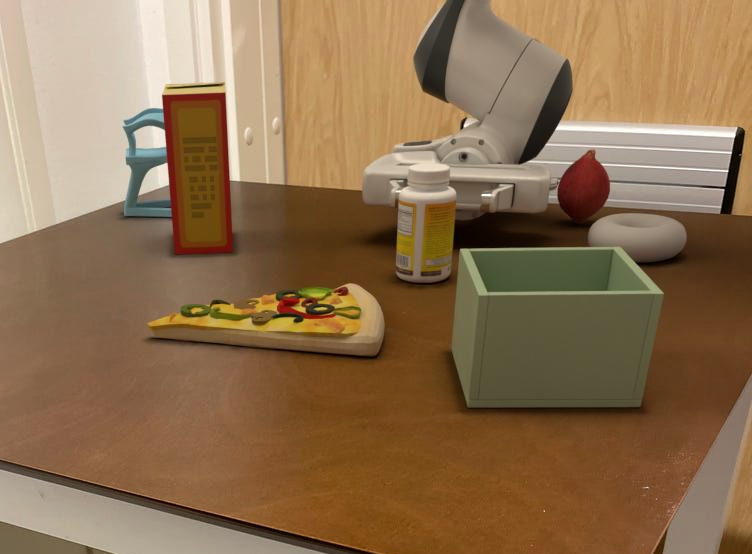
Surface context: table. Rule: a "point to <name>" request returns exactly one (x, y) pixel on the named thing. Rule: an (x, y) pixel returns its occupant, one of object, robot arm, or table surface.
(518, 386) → the trash bin
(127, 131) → the chair
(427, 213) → the supplement bottle
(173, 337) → the pizza slice
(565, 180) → the onion
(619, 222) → the donut
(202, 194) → the baking soda box
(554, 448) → the table surface
